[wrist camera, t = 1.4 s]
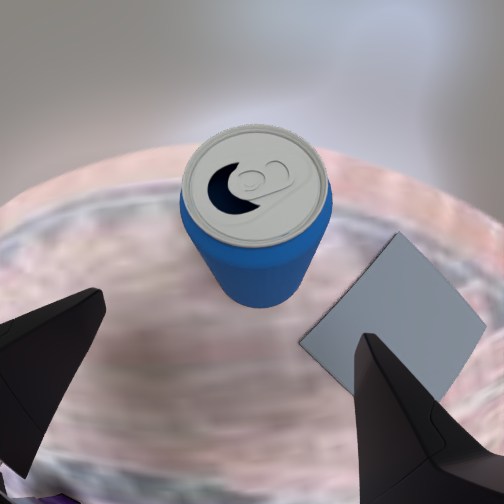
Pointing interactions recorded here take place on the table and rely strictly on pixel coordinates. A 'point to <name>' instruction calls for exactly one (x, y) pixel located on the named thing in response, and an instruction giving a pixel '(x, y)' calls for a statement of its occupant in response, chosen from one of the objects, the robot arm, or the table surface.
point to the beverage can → (256, 210)
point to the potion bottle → (46, 500)
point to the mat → (400, 320)
